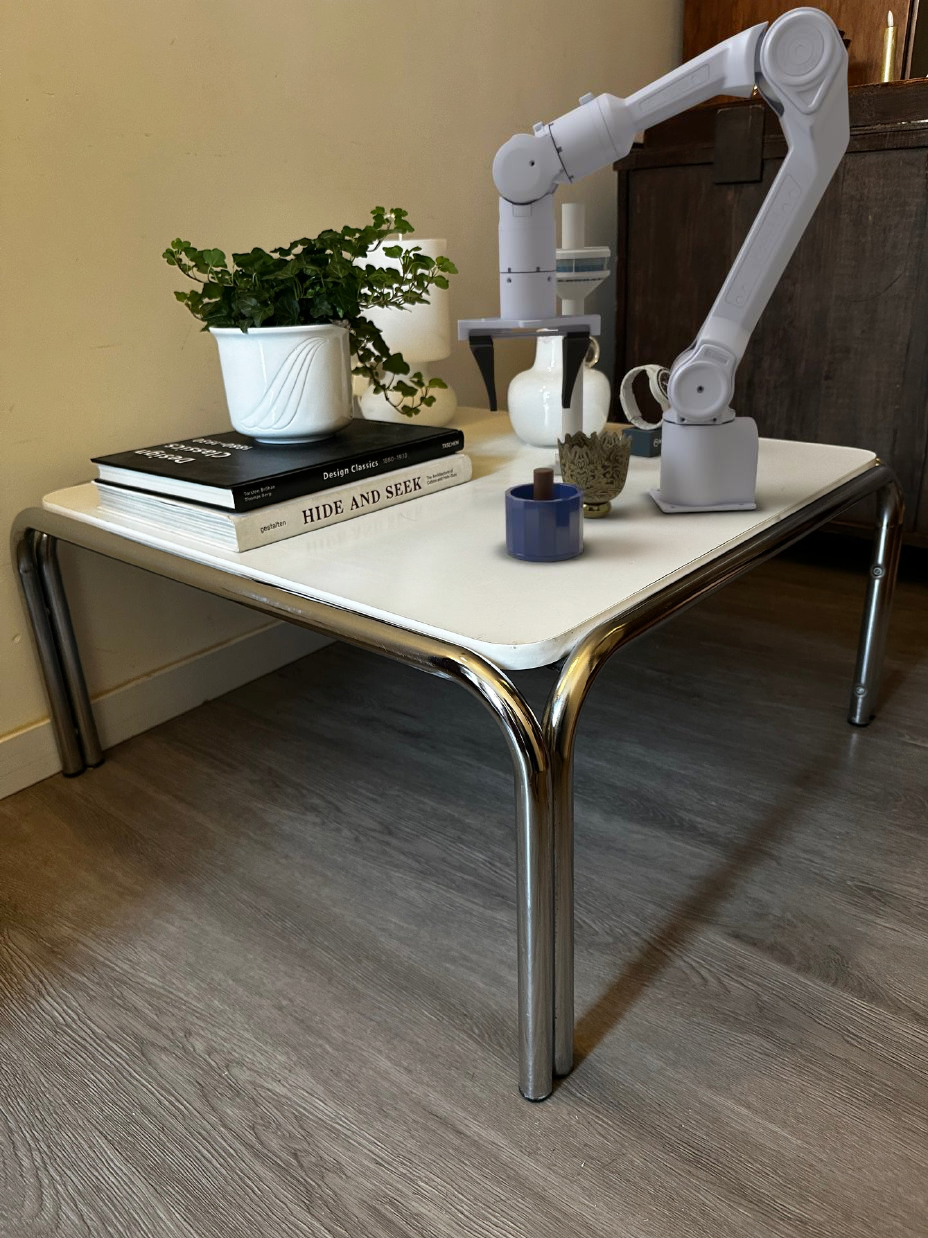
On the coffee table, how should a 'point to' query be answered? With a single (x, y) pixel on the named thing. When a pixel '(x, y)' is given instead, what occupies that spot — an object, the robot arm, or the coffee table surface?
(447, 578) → the coffee table surface
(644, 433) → the watch
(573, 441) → the cup
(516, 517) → the cup
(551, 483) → the brown cylinder
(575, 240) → the model tower
